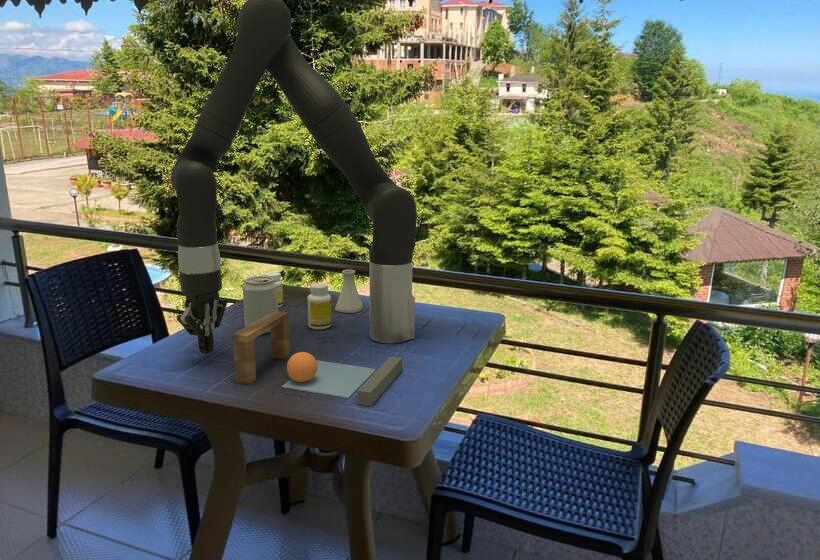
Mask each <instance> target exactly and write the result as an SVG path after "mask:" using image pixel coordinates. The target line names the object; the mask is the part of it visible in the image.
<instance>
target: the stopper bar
mask: <svg viewBox="0 0 820 560" xmlns="http://www.w3.org/2000/svg"><path fill="white" fill-rule="evenodd" d="M402 371H403V357H396V356H389V357H388V358H387V359H386V360H385V361H384V362H383V364H382V365H380V366H379V368H378V369H376V371H375V372H374V373H373V374H372V375H371V376H370V377H369V378H368V379H367V380H366V381H365V382H364V383H363V384H362V385H361V386H360V387H359V388H358V389H357V390H356V393H357V399H356V400H357V405H361V406H365V407H368V406H369V407H371V406H373V404H374V403H375V402H376V401H377V400H378V399H379V397H380V396H381V395H382V394H383V393H384V392H385V391H386V389H387V388H389V386H390V385H391V383H393V382H394V380H395V379H396V378H397V377H398V376H399V375H400V374H401V372H402Z"/></svg>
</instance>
